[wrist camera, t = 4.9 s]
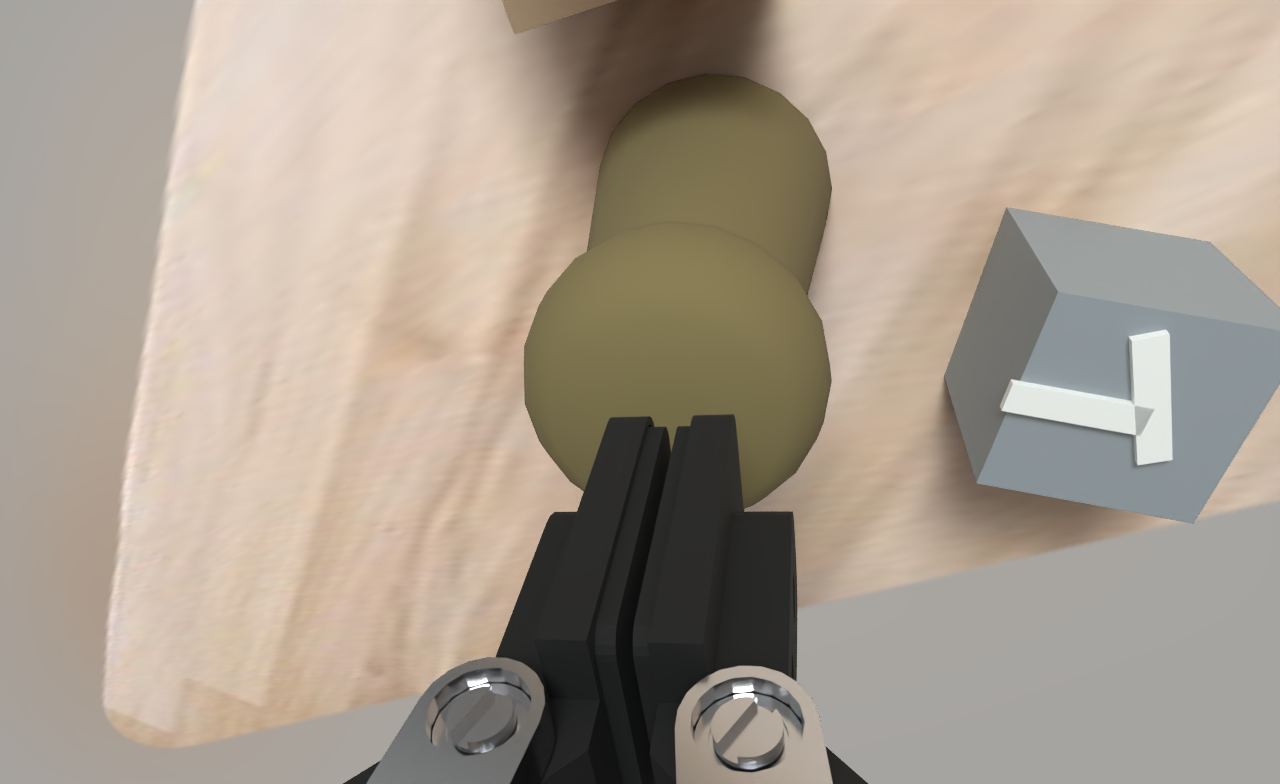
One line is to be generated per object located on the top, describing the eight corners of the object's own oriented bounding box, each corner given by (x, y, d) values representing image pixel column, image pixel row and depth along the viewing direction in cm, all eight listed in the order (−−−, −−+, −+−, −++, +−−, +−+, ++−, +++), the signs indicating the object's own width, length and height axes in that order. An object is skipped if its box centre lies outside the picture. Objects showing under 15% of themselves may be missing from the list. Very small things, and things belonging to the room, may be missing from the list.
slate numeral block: (1208, 240, 22) (1314, 340, 17) (1123, 407, 25) (1197, 529, 20) (998, 205, 22) (1050, 293, 18) (936, 373, 25) (969, 487, 20)
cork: (745, 337, 25) (722, 630, 16) (558, 227, 24) (416, 469, 15) (881, 159, 22) (952, 392, 13) (673, 23, 21) (584, 167, 12)
